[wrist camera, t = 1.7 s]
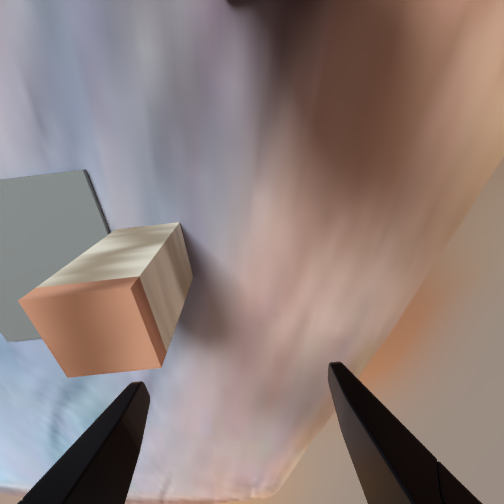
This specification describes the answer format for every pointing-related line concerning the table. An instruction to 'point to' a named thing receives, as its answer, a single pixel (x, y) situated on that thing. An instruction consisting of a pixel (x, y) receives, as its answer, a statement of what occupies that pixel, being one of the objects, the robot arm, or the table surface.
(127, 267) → the block
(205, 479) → the table surface
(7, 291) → the mat
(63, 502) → the robot arm
